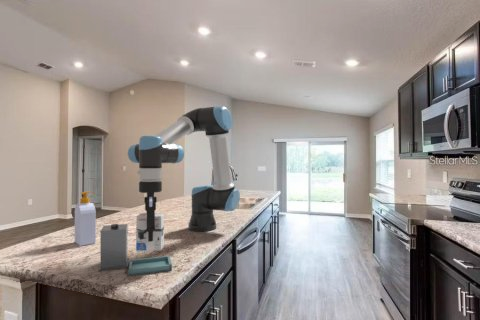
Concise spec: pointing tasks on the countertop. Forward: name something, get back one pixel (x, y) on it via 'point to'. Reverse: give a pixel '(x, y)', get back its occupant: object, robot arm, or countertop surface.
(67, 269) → the countertop surface
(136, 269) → the tray
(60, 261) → the countertop surface
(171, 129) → the robot arm
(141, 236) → the ink box
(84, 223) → the soap bottle
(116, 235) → the unit
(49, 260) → the countertop surface
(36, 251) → the countertop surface
